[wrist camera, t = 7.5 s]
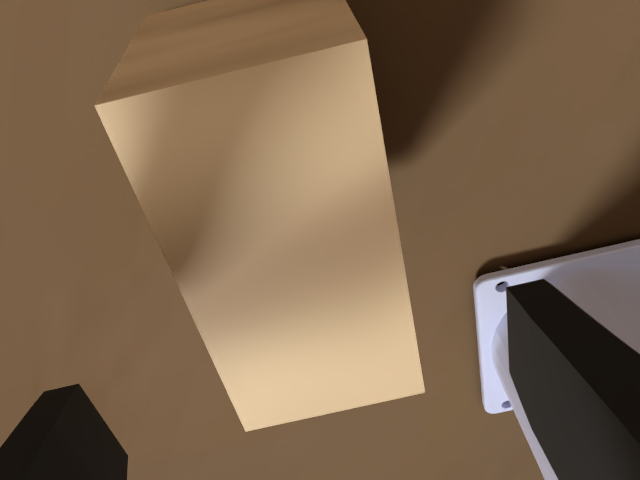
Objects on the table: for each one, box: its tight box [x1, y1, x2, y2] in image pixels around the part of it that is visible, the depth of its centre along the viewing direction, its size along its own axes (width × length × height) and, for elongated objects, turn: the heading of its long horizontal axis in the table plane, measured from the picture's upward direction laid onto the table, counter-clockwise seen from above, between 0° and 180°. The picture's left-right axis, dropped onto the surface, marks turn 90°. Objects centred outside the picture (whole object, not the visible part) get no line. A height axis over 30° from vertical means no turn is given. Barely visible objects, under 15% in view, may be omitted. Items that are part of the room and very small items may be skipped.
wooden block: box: [94, 0, 425, 431], centre depth 14 cm, size 8×4×6 cm, turn 12°
